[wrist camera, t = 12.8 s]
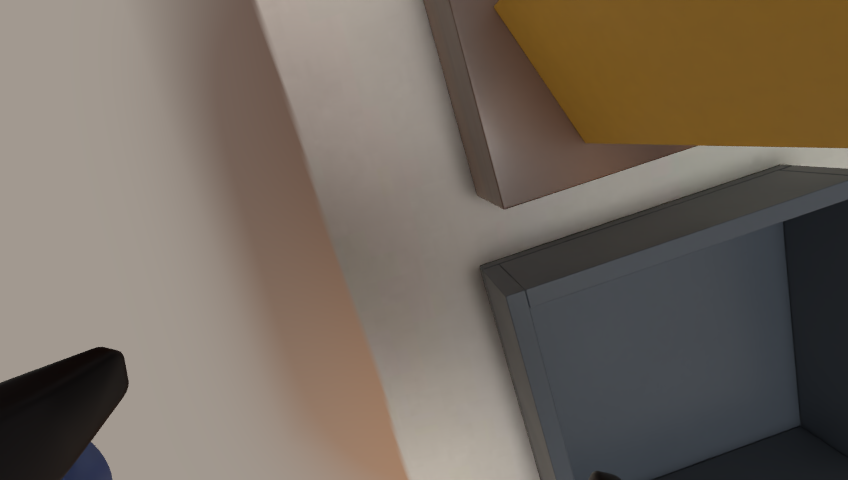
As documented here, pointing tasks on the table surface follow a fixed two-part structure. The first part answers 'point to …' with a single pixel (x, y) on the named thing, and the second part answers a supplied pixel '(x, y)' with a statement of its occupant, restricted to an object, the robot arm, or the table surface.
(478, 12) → the square wooden tile
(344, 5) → the table surface
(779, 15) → the puzzle block
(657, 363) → the tray
